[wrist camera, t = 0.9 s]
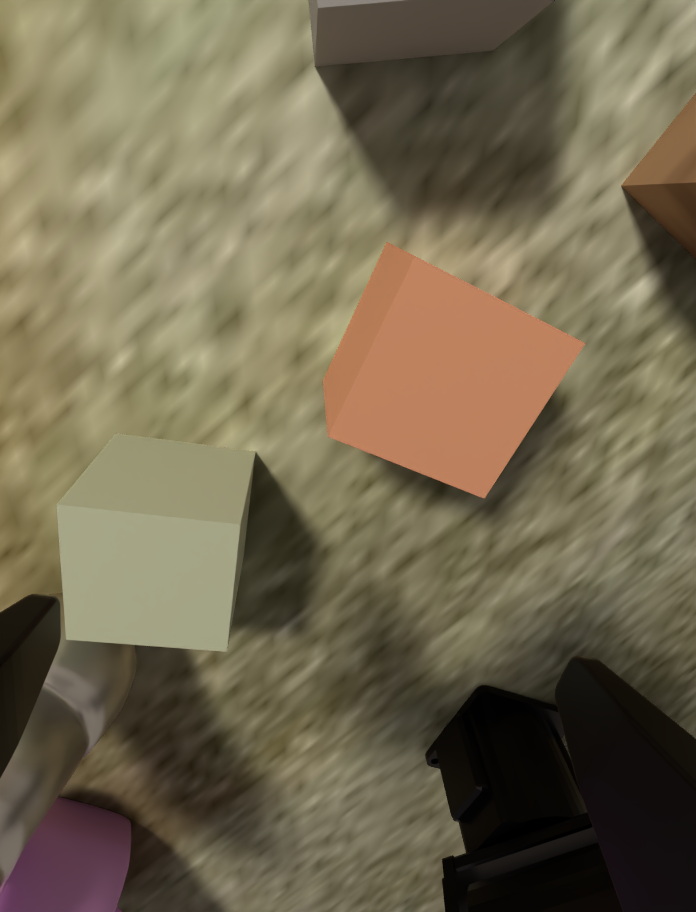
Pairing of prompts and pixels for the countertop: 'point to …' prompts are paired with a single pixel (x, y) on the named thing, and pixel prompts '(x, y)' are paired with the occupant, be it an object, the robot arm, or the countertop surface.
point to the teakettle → (71, 862)
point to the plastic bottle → (60, 733)
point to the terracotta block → (441, 374)
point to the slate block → (413, 27)
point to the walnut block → (671, 179)
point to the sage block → (155, 543)
